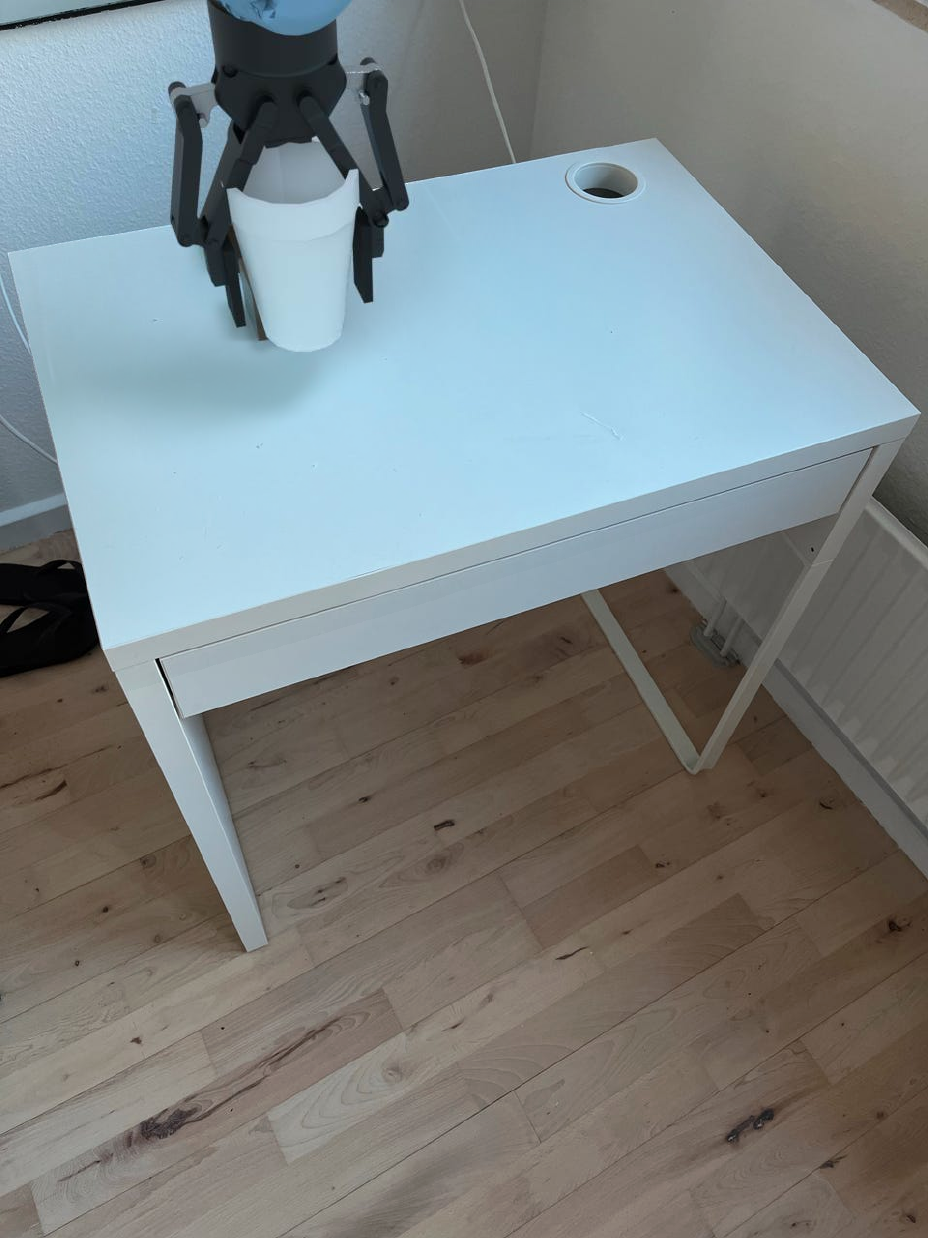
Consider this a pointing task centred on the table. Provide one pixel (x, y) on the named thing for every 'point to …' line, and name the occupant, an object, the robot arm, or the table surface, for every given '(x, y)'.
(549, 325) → the table surface
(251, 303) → the walnut block near
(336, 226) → the foam cup
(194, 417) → the table surface
